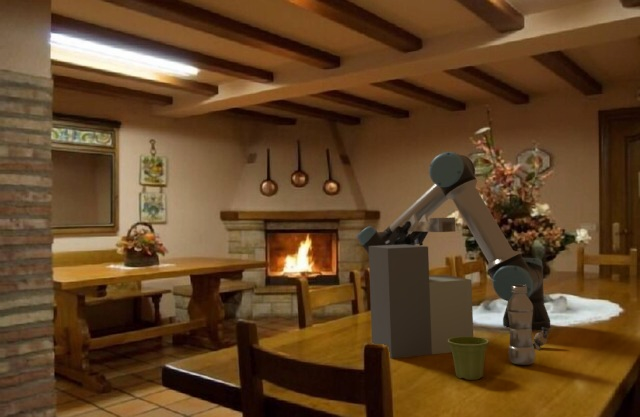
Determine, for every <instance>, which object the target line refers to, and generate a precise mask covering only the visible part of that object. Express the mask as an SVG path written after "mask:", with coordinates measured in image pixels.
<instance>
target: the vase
mask: <svg viewBox="0 0 640 417" xmlns="http://www.w3.org/2000/svg"><path fill="white" fill-rule="evenodd" d="M550 332H551V330H550V328H544V327H542V329H541V330H540V332H536V333H535V335H534V337H533V346H534V349H536V351H542V349H541V347H542V346H545V344H546V343H547V342H548V335H549V333H550Z"/></svg>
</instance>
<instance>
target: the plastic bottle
mask: <svg viewBox="0 0 640 417" xmlns="http://www.w3.org/2000/svg"><path fill="white" fill-rule="evenodd" d="M511 292H512V293H513V295H512V297H511V298H510V300H509V301H507V303H508V304H506V307H507V310H508V317H509V324H510V328H509V346H508V359H509V361H510V362H511V363H512V364H515V365H519V366H529V365H530V366H531V365H532V364H533V363H534V362H535V359H536V353H535V348H534V346H533V344H534V339H533V330H532V329H531V328H532V315H533V305H532V303H531V301H530V300H529V298H528V297H527V296H526V293H527V287H526V285H512V291H511Z"/></svg>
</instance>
